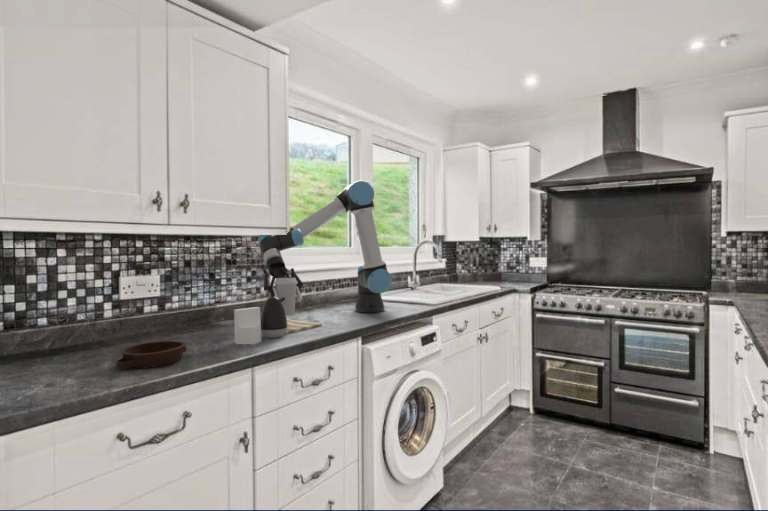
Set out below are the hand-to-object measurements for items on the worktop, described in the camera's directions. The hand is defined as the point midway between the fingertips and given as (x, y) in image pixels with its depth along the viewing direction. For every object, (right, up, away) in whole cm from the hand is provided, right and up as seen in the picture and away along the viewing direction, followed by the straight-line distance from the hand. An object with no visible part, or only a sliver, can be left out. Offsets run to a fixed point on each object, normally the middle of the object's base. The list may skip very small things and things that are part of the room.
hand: (289, 301), depth 186 cm
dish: (-30, -14, -50) cm, 60 cm away
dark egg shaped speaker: (-2, -12, -16) cm, 20 cm away
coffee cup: (-2, -6, +3) cm, 7 cm away
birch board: (-1, -11, +3) cm, 12 cm away
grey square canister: (-10, -12, -24) cm, 29 cm away
